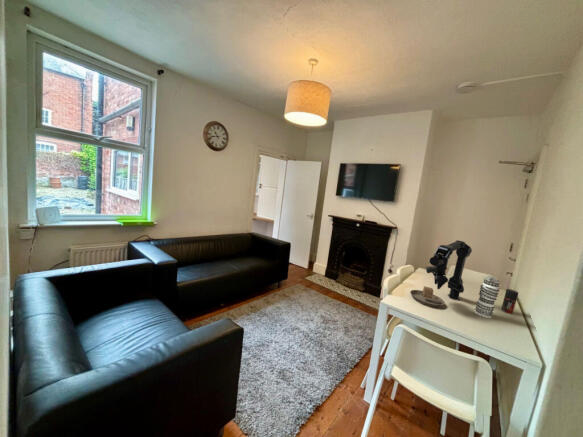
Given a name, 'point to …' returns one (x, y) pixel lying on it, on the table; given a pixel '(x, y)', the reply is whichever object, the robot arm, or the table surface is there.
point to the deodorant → (509, 301)
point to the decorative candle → (487, 297)
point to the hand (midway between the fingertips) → (436, 286)
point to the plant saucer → (426, 299)
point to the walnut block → (427, 292)
